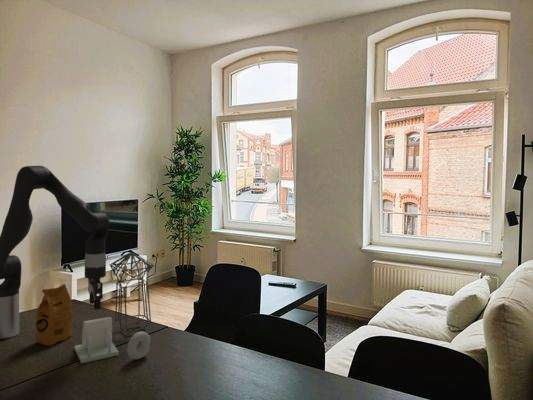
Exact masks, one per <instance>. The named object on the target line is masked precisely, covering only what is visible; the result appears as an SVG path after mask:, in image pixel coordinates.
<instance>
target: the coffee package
mask: <svg viewBox="0 0 533 400" xmlns="http://www.w3.org/2000/svg"><path fill="white" fill-rule="evenodd" d="M41 292H42V293H43V296H42V299H41V302H40V304H39V306H38V308H37V310H36V315H35V341H36V343H37V344H41V345H44V346H49V347H50V346H53V345H55V344H56V343H58V342H64V341H66V340H67V339H68V338H70V337H72V333H73V332H72V331H73V329H72V327H73V326H72V325H73V309H72V308H73V307H72V298H71V297H70V296H71V295H70V293H69V291H68V288H67V285H66V283H62V284H61V285H59V286H57V287H53V288H52V287H51V288H45V289H44V288H43V289H42V290H41Z"/></svg>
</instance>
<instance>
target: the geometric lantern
mask: <svg viewBox="0 0 533 400" xmlns="http://www.w3.org/2000/svg"><path fill="white" fill-rule="evenodd" d="M129 259H130V262H129ZM136 259H137V260H136ZM128 262H129V263H128ZM140 262H142V263H143V265H144V267H143V268H139V263H140ZM133 264H135V265H133ZM127 265H130V268H127V267H126V266H127ZM109 266H110V269H111V271H112V272H113V275H114V276H115V278H116V279H117V281H116V283H115V285H116V286H115V287H116V289H115V311H114V312H115V313H114V315H115V316H114V322H115V325H117V327H118V328H119V329H120V332H121V333H122V334H124V335H125V336H126V337H132V336H133V335H134V334H135V333H133V334H131V332H134V331H138V330H142V332H146V327H148V325H150V324H151V323H152V319H151V318H152V317H151V306H150V305H151V304H150V303H151V302H150V293H149V291H150V290H149V276H147V279H146V280H145V279H144V277H145V275H146V273H147V274H149V272H150V271H151V270H152V268H153V267H155V265H154V264H153V263H151V262H149V261H148V260H146V259H145V258H143V257H141V256H140V255H138V254H137V253H136V252H128V253H127V254H124V255H123V256H122V257H120V258H118V259H117V260H115V261H114V262H113V261H112V263H109ZM136 271H137V273H136ZM140 271H142V272H140ZM119 272H121V273H122V274H121V276H120V278H119V277H118V274H119ZM127 272H130V274H129V273H127ZM133 273H134V274H135V275H133ZM124 274H125V275H127V276H129V277H130V278H129V279H126V280H122V279H123V276H124ZM141 276H142V277H141ZM135 277H136V278H135ZM135 280H137V281H138V282H137V283H138V284H137V285H130V286H128V285H129V283H130V282H131V281H135ZM140 281H141V282H140ZM122 282H123V283H124V282H127V283H126V285H124V286H123V285H122ZM140 283H141V284H140ZM118 286H119V287H118ZM134 287H137V288H138V289H137V290H138V293H137V294H138V303H137V304H138V305H137V306H138V307H137V309H138V311H137V312H138V313H137V314H136V315H131V316H128V315H127V314H128V313H127V295H126V294H127V293H126V292H127V291H126V289H127V288H134ZM118 288H119V289H118ZM140 288H141V289H140ZM140 290H141V291H142V305H143V314H141V313H140V304H141V302H140V301H141V299H140V293H141V291H140ZM118 293H119V294H118ZM123 293H124V297H123ZM123 298H124V316H125V317H122V312H123V311H122V308H123V307H122V306H123V304H122V303H123ZM117 310H118V314H117ZM117 315H118V316H117ZM135 317H136V318H137V321H136V322H132V323H128V319H129V318H131V319H132V318H135ZM140 317H142V318H141V319H140ZM144 318H145V319H146V323H144V324H143V323H141V322H142V321H143V319H144ZM124 319H125V324H124V325H123V324H122V320H124ZM139 319H140V321H139ZM134 324H136V325H134ZM130 325H132V326H130ZM133 325H134V326H133ZM135 328H136V329H135ZM131 329H132V330H131Z"/></svg>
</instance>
